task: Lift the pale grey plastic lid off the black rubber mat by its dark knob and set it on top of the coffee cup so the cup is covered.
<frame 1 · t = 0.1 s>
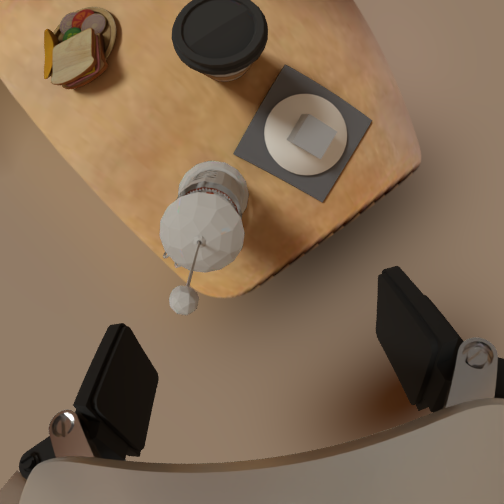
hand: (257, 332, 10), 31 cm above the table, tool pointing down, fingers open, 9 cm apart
french press: (208, 200, 40), on the table
mat: (305, 134, 36), on the table
toy sandwich meal: (84, 47, 28), on the table
lid: (305, 134, 36), resting on mat
coffee cup: (225, 60, 31), on the table
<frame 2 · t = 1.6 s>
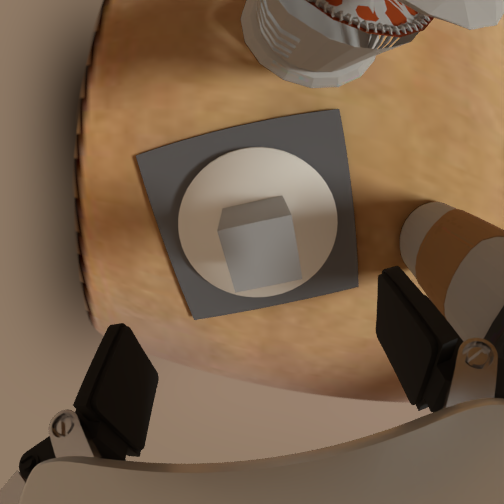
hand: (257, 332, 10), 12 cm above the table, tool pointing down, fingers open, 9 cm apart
french press: (313, 15, 14), on the table
mat: (257, 223, 21), on the table
lid: (258, 225, 20), resting on mat
coffee cup: (425, 234, 22), on the table
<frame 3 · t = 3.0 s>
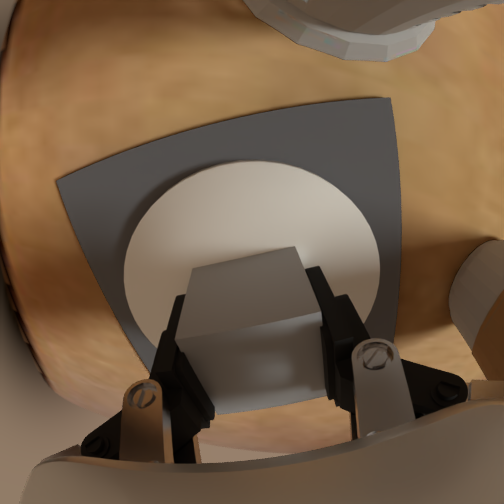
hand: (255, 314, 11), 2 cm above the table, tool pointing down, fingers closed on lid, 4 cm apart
mat: (252, 282, 13), on the table
lid: (253, 288, 13), point 1 cm above the table, touching gripper, mat
coffee cup: (479, 279, 14), on the table
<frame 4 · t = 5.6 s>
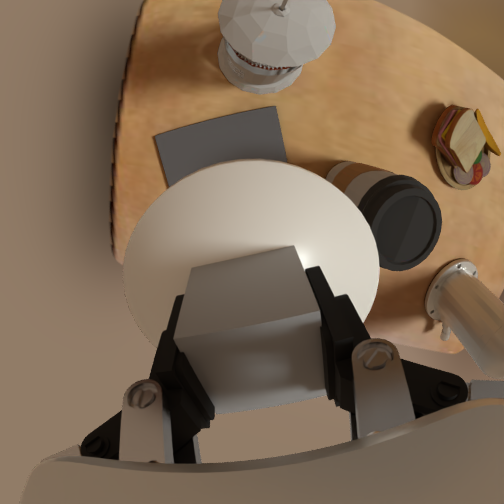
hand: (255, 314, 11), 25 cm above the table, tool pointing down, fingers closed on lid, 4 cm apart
french press: (261, 48, 27), on the table
mat: (228, 176, 33), on the table
toy sandwich meal: (457, 146, 32), on the table
lid: (252, 288, 13), point 23 cm above the table, touching gripper
coffee cup: (346, 185, 34), on the table
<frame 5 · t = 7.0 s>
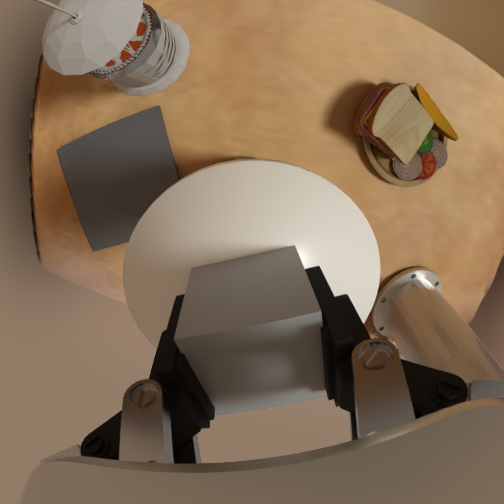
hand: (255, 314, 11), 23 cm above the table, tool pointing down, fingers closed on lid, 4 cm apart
french press: (147, 48, 24), on the table
mat: (120, 183, 30), on the table
toy sandwich meal: (399, 134, 29), on the table
lid: (253, 288, 13), point 21 cm above the table, touching gripper
when the fingers open (18 cm above the table, at t = 8.0 s): lid drops 1 cm, resting on coffee cup.
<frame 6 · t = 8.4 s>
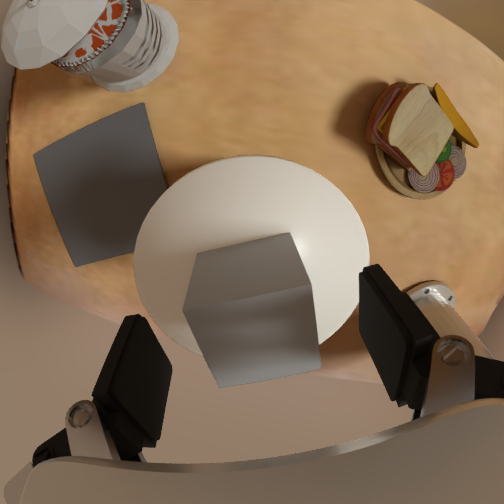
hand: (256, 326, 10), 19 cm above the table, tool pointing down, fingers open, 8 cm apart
french press: (130, 37, 20), on the table
mat: (101, 192, 26), on the table
toy sandwich meal: (414, 140, 26), on the table
lid: (252, 273, 14), point 15 cm above the table, touching coffee cup
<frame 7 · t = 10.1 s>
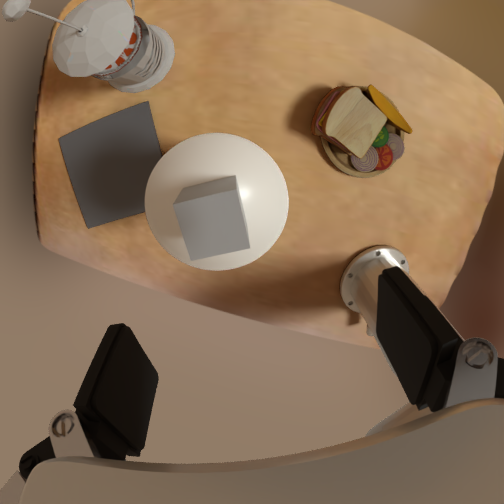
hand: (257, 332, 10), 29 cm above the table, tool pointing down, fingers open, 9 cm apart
french press: (138, 51, 28), on the table
mat: (113, 167, 34), on the table
toy sandwich meal: (356, 131, 35), on the table
lid: (216, 203, 22), point 15 cm above the table, touching coffee cup
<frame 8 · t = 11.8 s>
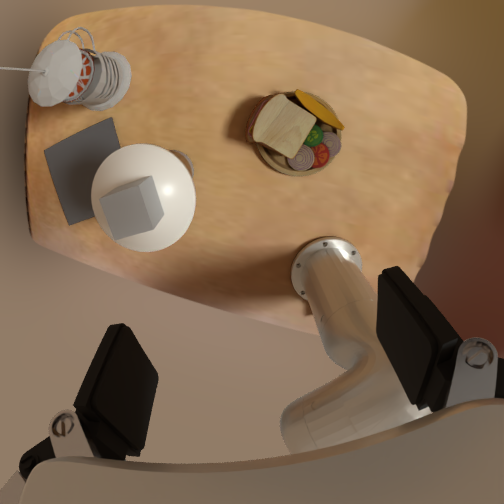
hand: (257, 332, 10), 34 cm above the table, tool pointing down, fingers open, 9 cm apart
french press: (103, 75, 33), on the table
mat: (87, 174, 40), on the table
toy sandwich meal: (293, 133, 39), on the table
lid: (142, 198, 27), point 15 cm above the table, touching coffee cup
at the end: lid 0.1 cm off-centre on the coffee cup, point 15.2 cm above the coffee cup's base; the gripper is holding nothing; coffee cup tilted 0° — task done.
